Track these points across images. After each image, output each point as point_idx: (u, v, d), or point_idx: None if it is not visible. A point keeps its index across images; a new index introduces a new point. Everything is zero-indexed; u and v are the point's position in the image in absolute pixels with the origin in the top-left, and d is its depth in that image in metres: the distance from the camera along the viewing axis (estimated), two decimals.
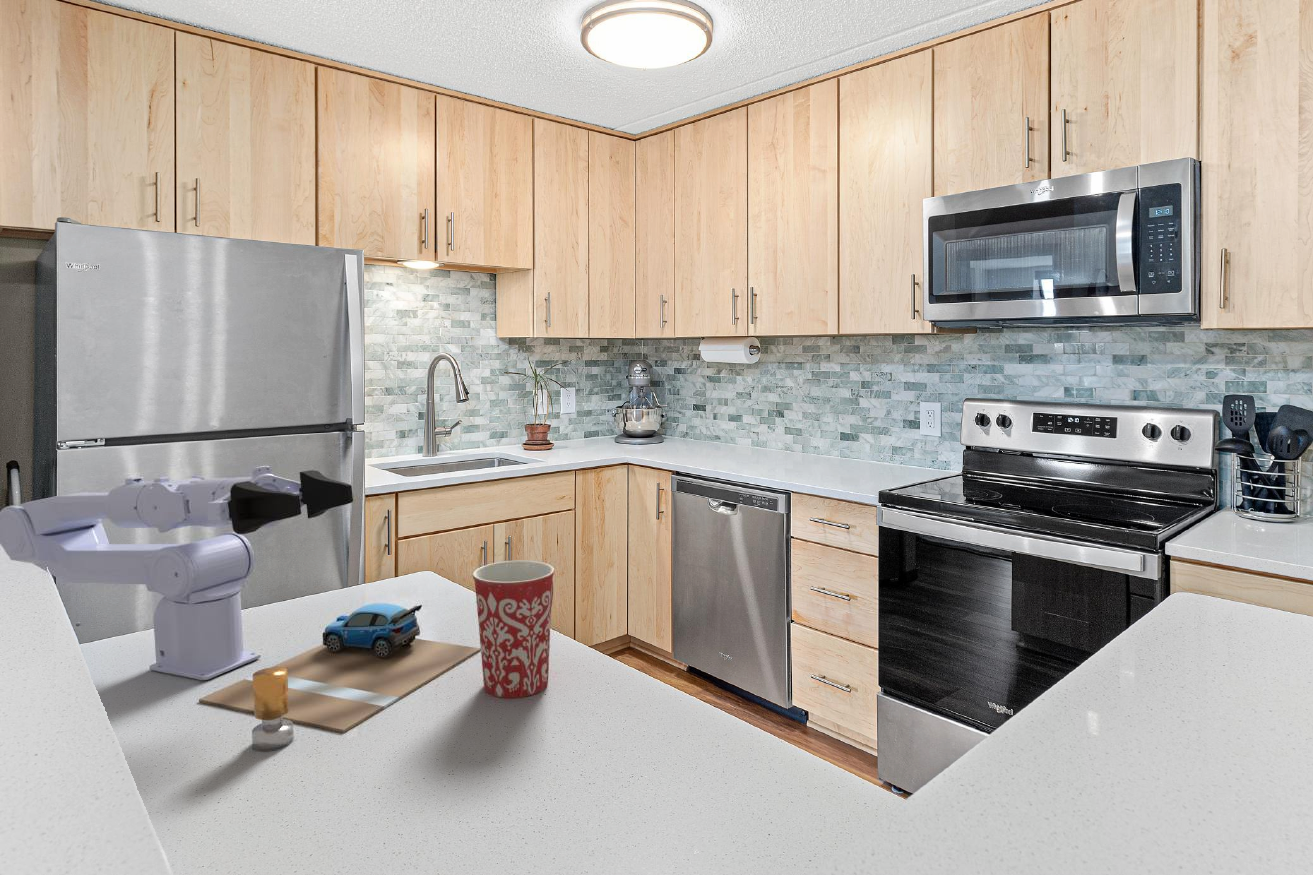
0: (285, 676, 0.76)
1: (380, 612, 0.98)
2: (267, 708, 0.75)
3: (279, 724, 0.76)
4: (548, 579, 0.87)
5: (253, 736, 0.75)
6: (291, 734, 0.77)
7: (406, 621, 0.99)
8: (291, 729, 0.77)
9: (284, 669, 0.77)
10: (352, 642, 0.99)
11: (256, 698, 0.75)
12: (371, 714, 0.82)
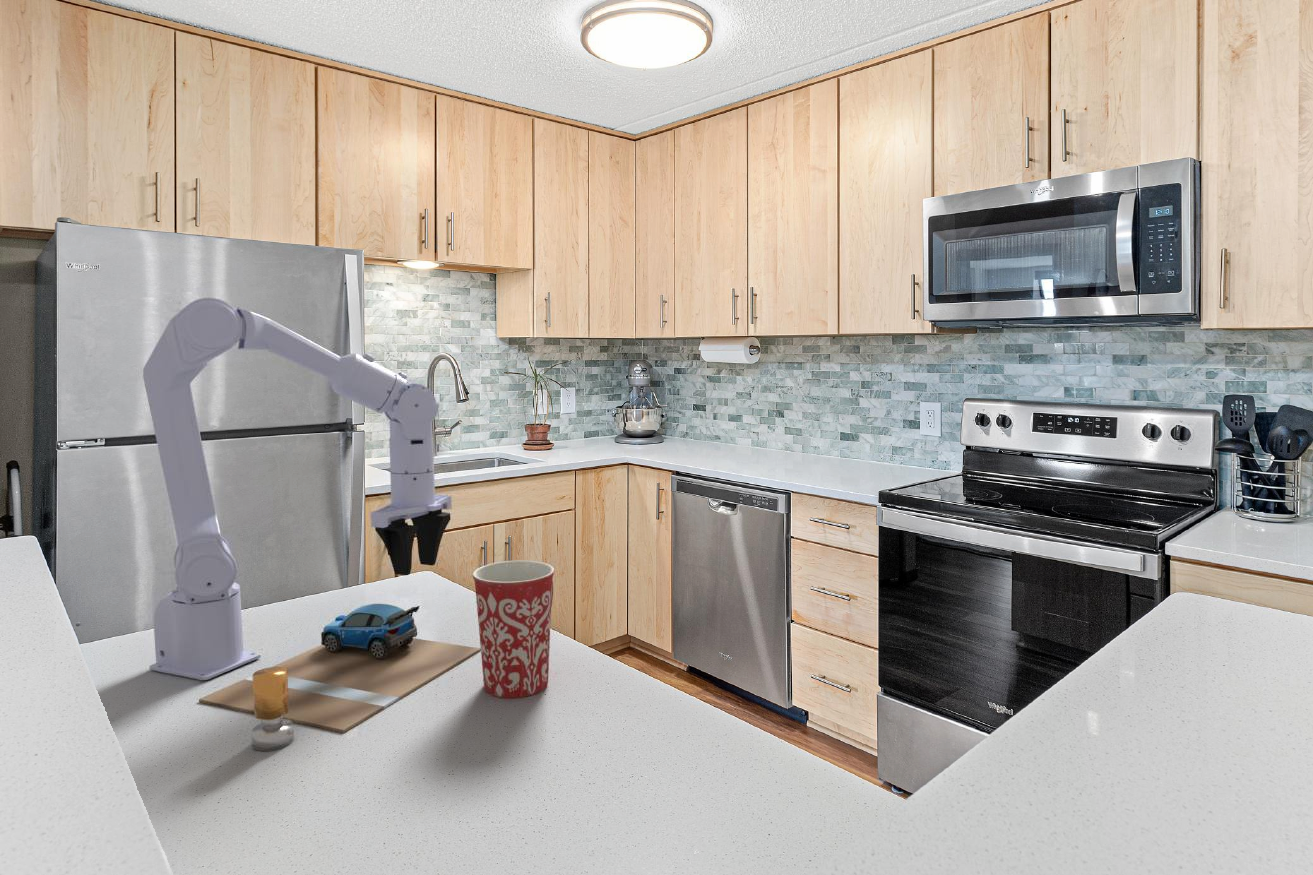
0: (285, 676, 0.76)
1: (376, 613, 0.98)
2: (267, 708, 0.75)
3: (279, 724, 0.76)
4: (548, 579, 0.87)
5: (253, 736, 0.75)
6: (291, 734, 0.77)
7: (402, 622, 0.98)
8: (291, 729, 0.77)
9: (284, 669, 0.77)
10: (349, 642, 0.98)
11: (256, 697, 0.75)
12: (371, 714, 0.82)
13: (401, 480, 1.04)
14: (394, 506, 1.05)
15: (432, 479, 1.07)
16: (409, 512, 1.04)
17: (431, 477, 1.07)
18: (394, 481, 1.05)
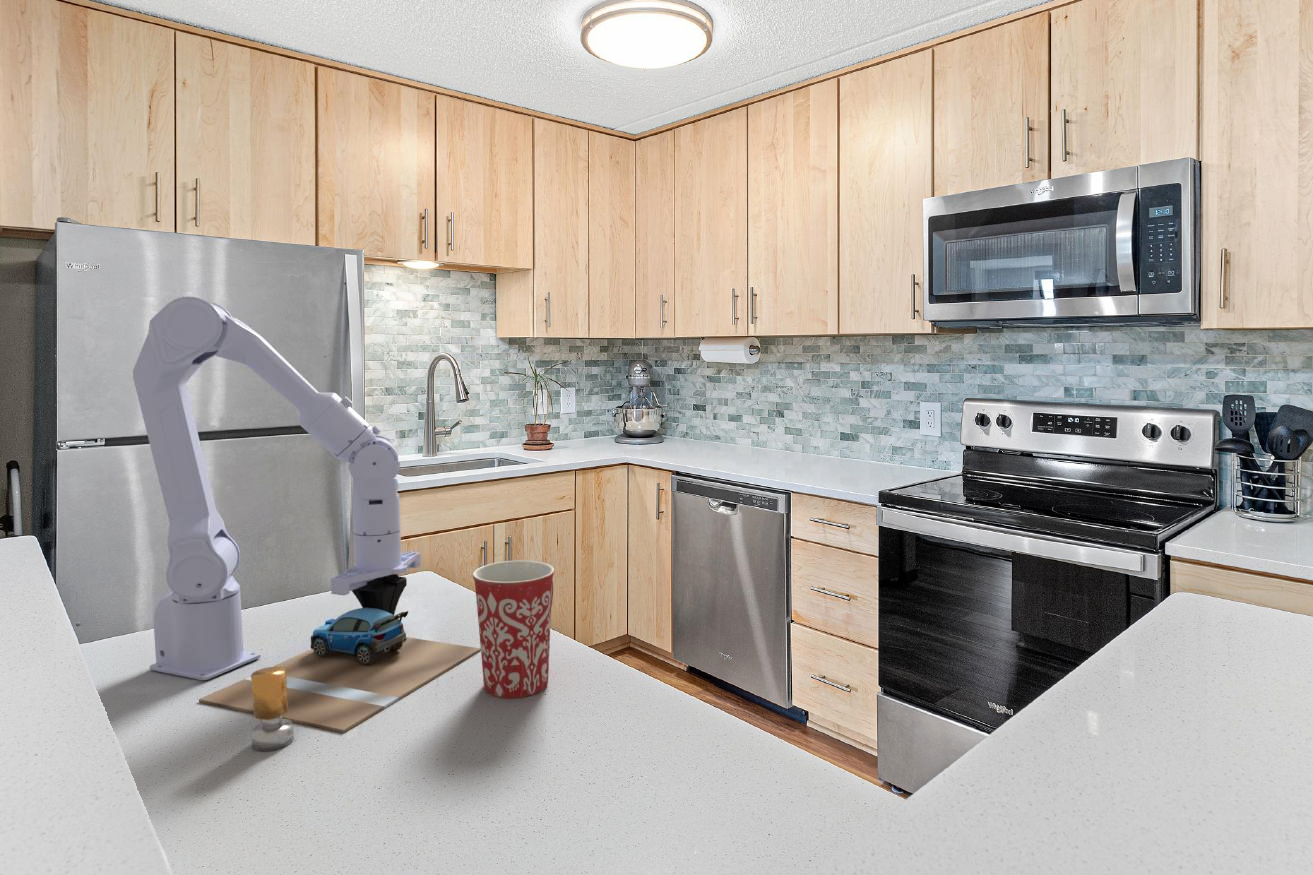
0: (284, 676, 0.76)
1: (364, 617, 0.96)
2: (267, 708, 0.75)
3: (279, 723, 0.76)
4: (548, 579, 0.87)
5: (253, 736, 0.75)
6: (291, 733, 0.77)
7: (390, 628, 0.96)
8: (291, 728, 0.77)
9: (282, 668, 0.77)
10: (337, 647, 0.97)
11: (256, 698, 0.75)
12: (371, 714, 0.82)
13: (364, 542, 0.98)
14: (357, 569, 0.99)
15: (398, 540, 1.01)
16: (372, 577, 0.98)
17: (397, 538, 1.00)
18: (357, 542, 0.99)
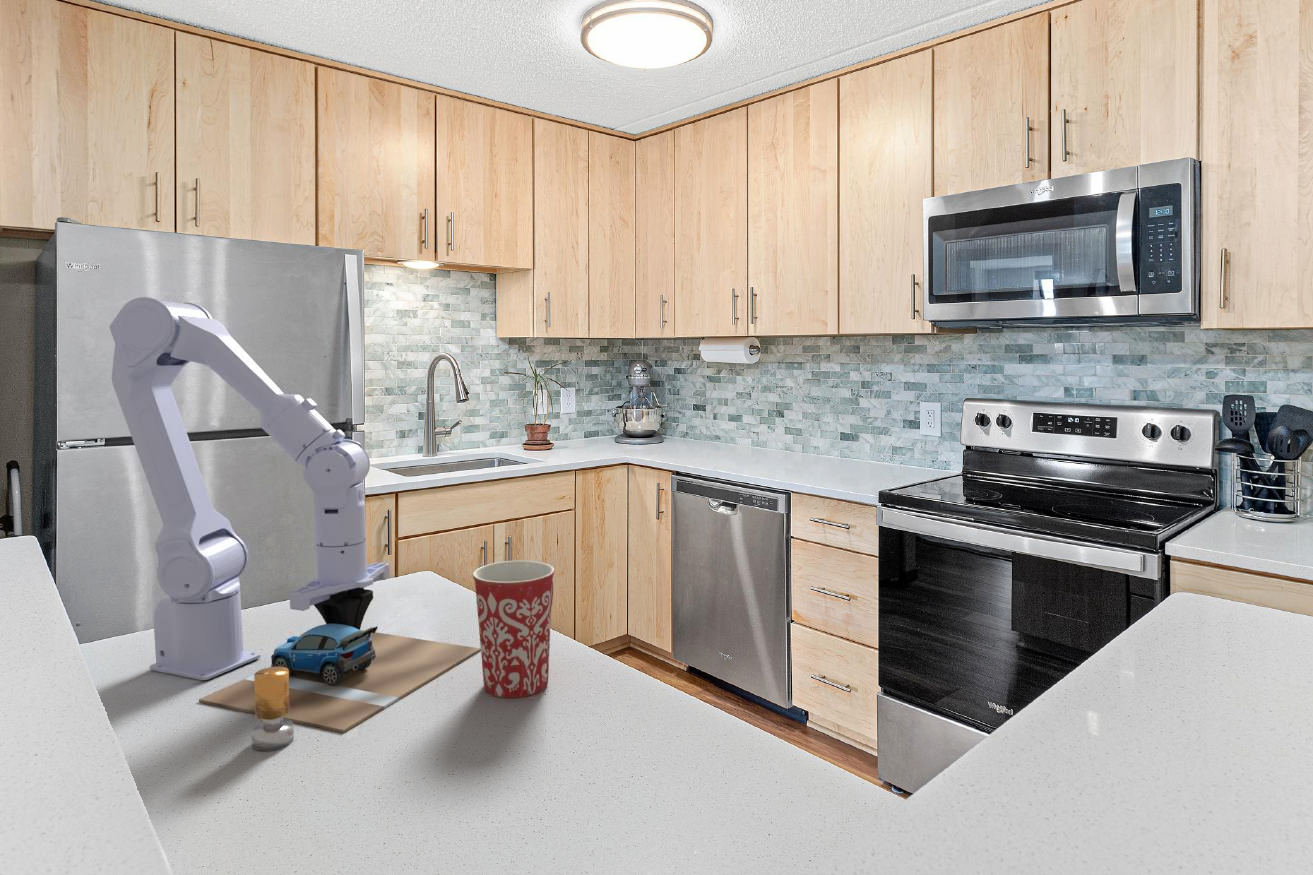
0: (287, 676, 0.76)
1: (330, 634, 0.90)
2: (269, 708, 0.75)
3: (280, 724, 0.76)
4: (548, 579, 0.87)
5: (254, 736, 0.75)
6: (292, 734, 0.77)
7: (358, 645, 0.91)
8: (292, 729, 0.77)
9: (286, 669, 0.77)
10: (300, 666, 0.91)
11: (258, 697, 0.75)
12: (371, 714, 0.82)
13: (326, 554, 0.93)
14: (319, 582, 0.93)
15: (363, 551, 0.95)
16: (335, 590, 0.92)
17: (362, 549, 0.95)
18: (319, 554, 0.93)
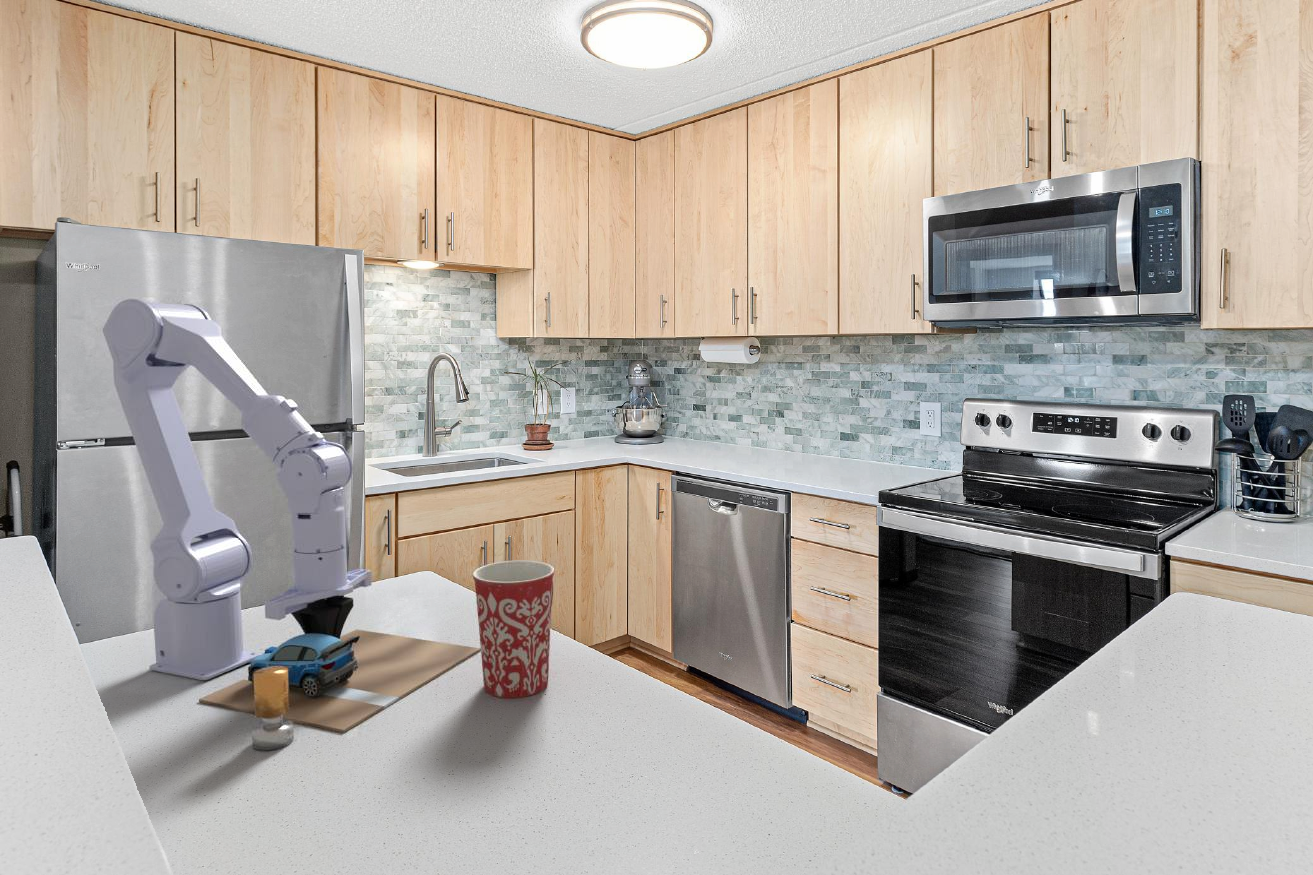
0: (287, 674, 0.76)
1: (310, 645, 0.87)
2: (269, 706, 0.75)
3: (280, 723, 0.76)
4: (548, 579, 0.87)
5: (254, 735, 0.75)
6: (292, 733, 0.77)
7: (340, 655, 0.87)
8: (292, 727, 0.77)
9: (285, 667, 0.77)
10: None
11: (258, 696, 0.75)
12: (371, 714, 0.82)
13: (304, 560, 0.89)
14: (297, 590, 0.90)
15: (342, 557, 0.92)
16: (312, 599, 0.89)
17: (341, 555, 0.91)
18: (296, 561, 0.90)
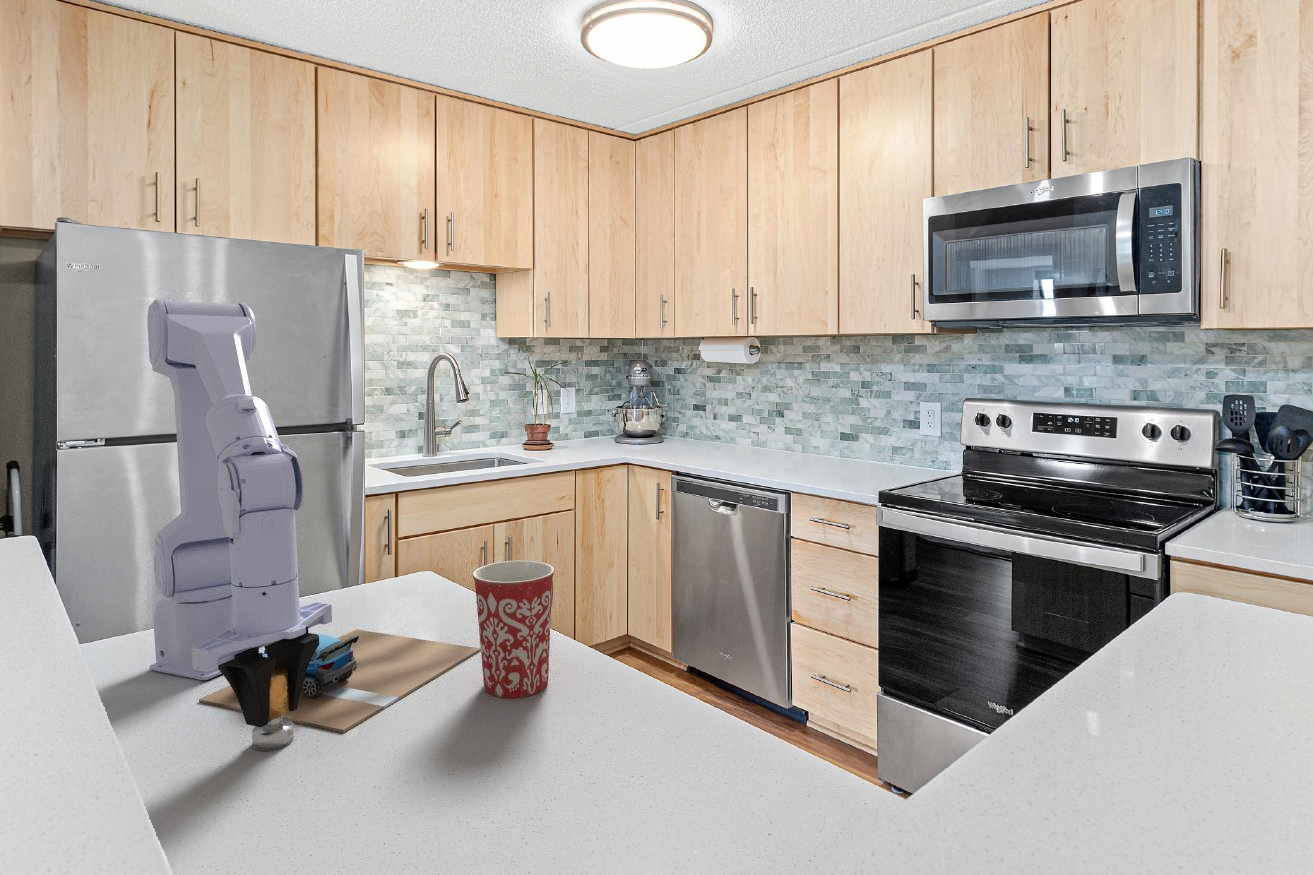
0: (287, 675, 0.76)
1: None
2: (272, 707, 0.75)
3: (281, 723, 0.76)
4: (548, 579, 0.87)
5: (256, 737, 0.75)
6: (293, 732, 0.77)
7: (339, 656, 0.87)
8: (292, 727, 0.77)
9: (283, 668, 0.77)
10: None
11: None
12: (371, 714, 0.82)
13: (244, 596, 0.72)
14: (235, 632, 0.73)
15: (293, 591, 0.75)
16: (254, 644, 0.72)
17: (291, 589, 0.75)
18: (235, 596, 0.73)
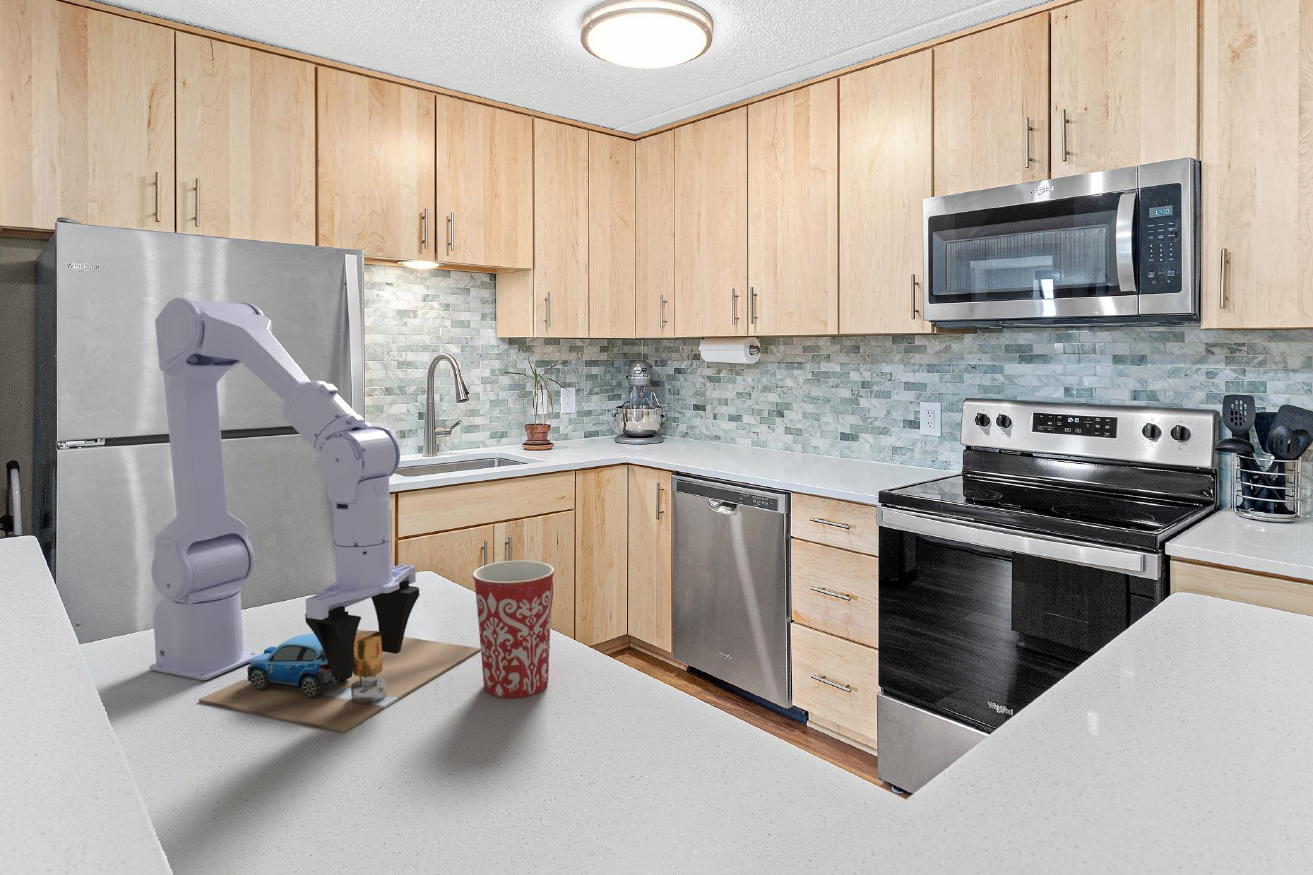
0: (381, 637, 0.86)
1: (309, 645, 0.87)
2: (370, 665, 0.84)
3: (376, 680, 0.86)
4: (548, 579, 0.87)
5: (355, 692, 0.84)
6: None
7: None
8: None
9: (377, 631, 0.87)
10: (278, 678, 0.87)
11: (359, 657, 0.84)
12: (371, 714, 0.82)
13: (347, 555, 0.82)
14: (339, 587, 0.83)
15: (388, 551, 0.84)
16: (357, 596, 0.81)
17: (386, 549, 0.84)
18: (339, 555, 0.82)
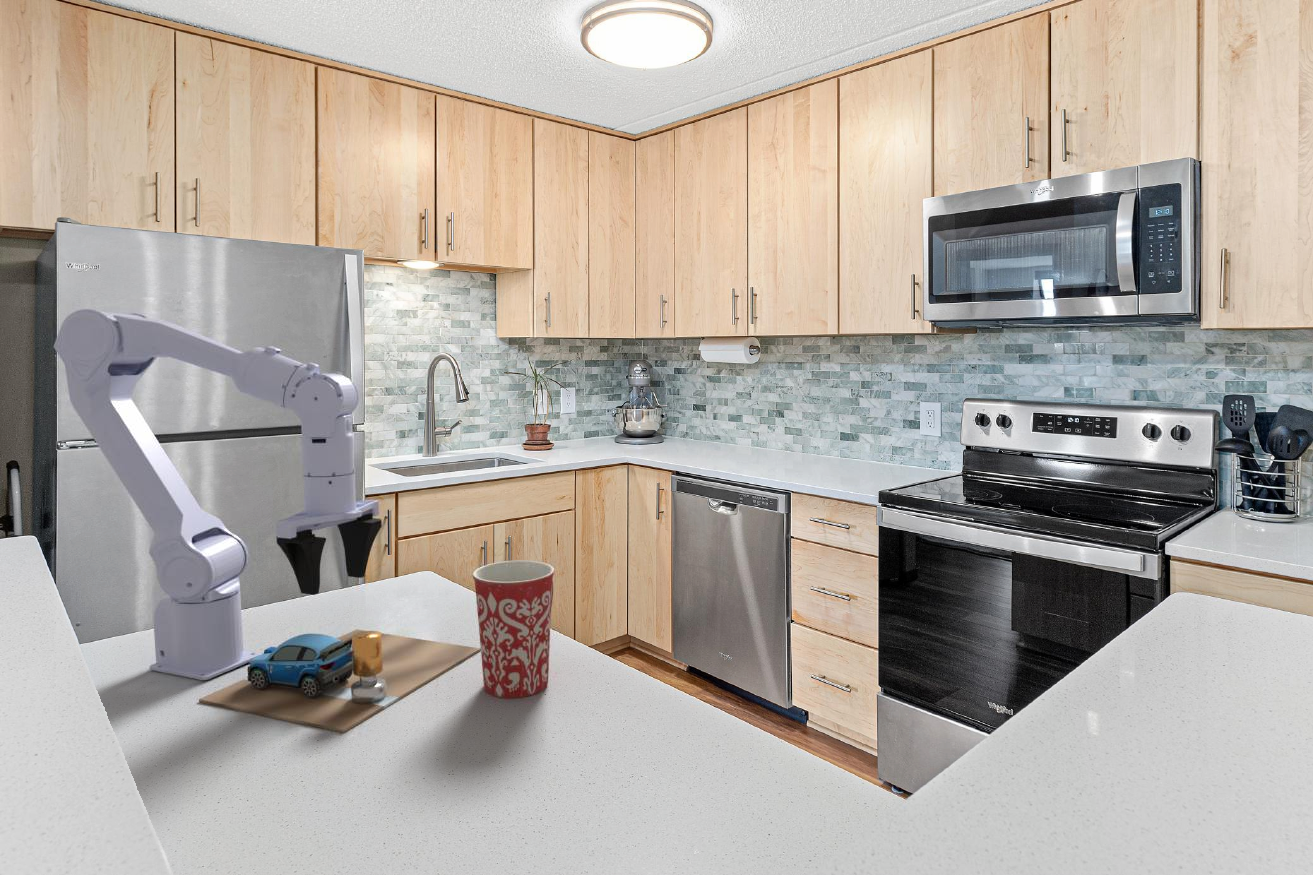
0: (381, 637, 0.86)
1: (309, 645, 0.87)
2: (370, 665, 0.84)
3: (376, 680, 0.86)
4: (548, 579, 0.87)
5: (355, 692, 0.84)
6: None
7: (339, 656, 0.87)
8: None
9: (377, 631, 0.87)
10: (278, 678, 0.87)
11: (359, 657, 0.84)
12: (371, 714, 0.82)
13: (314, 484, 0.92)
14: (307, 513, 0.93)
15: (351, 483, 0.94)
16: (322, 520, 0.91)
17: (350, 480, 0.94)
18: (307, 484, 0.92)
